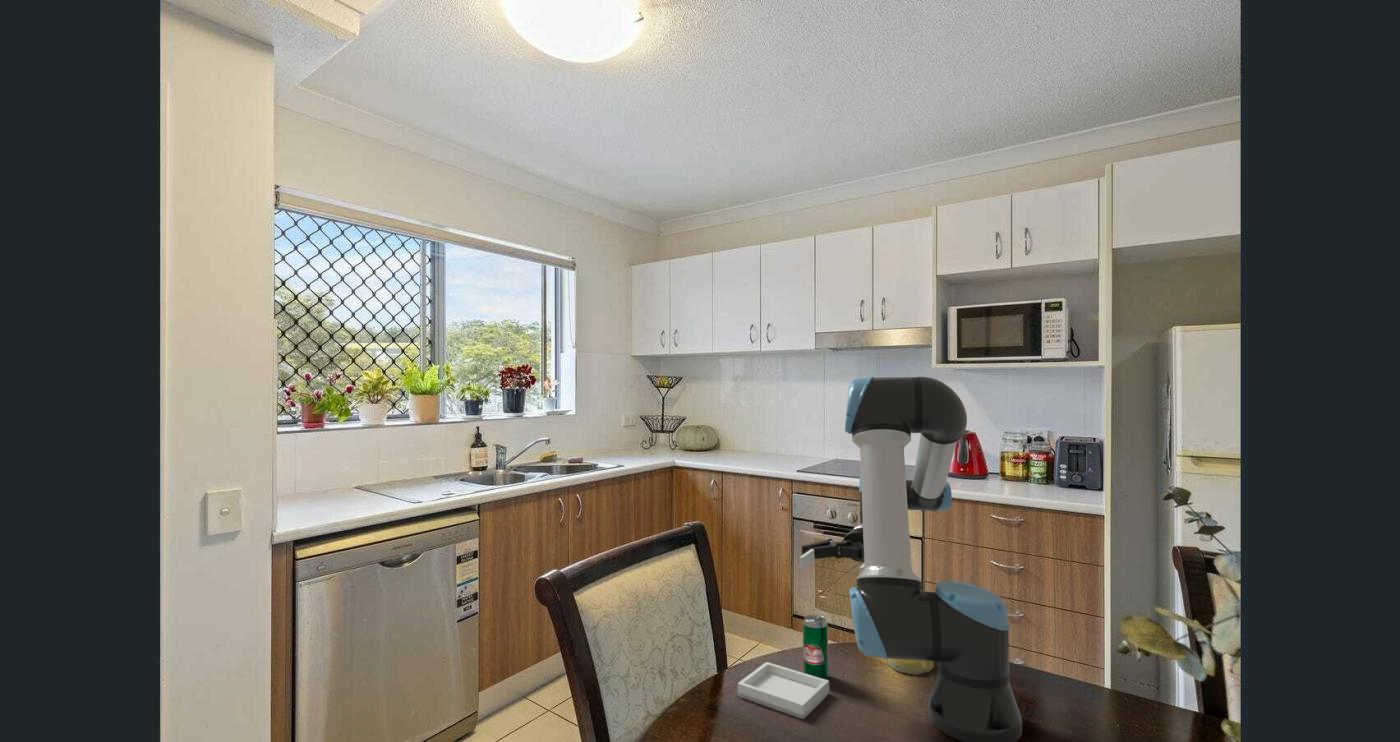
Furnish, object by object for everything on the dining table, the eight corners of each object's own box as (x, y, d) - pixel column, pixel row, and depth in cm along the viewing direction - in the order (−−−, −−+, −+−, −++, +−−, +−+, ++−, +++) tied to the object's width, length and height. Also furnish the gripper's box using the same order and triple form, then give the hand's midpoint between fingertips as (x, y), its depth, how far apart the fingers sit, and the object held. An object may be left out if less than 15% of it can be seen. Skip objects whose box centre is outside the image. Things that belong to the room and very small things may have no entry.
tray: (829, 693, 119) (829, 680, 119) (803, 719, 110) (802, 705, 110) (766, 673, 127) (766, 661, 127) (737, 696, 118) (737, 683, 119)
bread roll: (880, 662, 132) (879, 644, 132) (914, 655, 135) (913, 637, 135) (905, 680, 124) (905, 660, 124) (941, 672, 128) (940, 652, 128)
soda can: (800, 680, 125) (799, 620, 125) (807, 669, 129) (806, 612, 129) (824, 685, 122) (823, 625, 122) (831, 674, 127) (830, 616, 127)
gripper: (915, 566, 144) (888, 596, 126) (815, 549, 158) (778, 575, 140) (914, 534, 144) (887, 560, 126) (814, 520, 157) (777, 542, 140)
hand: (830, 568), depth 133 cm, fingers open, 13 cm apart
